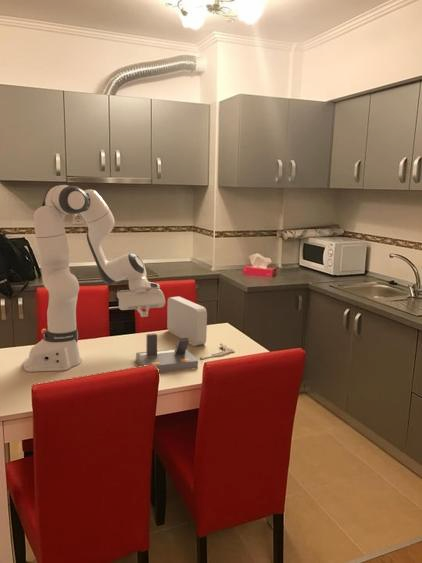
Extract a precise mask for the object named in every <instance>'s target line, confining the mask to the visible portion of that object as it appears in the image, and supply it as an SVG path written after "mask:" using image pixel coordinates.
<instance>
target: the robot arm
mask: <svg viewBox="0 0 422 563" xmlns="http://www.w3.org/2000/svg"><path fill="white" fill-rule="evenodd" d="M77 214H80V215H81V216H82V218H83V220H84V222H85V223H86V226H87V228H88V229H87V230H88V232H86V240H87V241H86V242H87V244H88V246H89V249H90V252H91V254H92V257H93V259H94V261H95V263H96V266H97V269H98V272H99V276H100V278H101V280H102V281H103V283H105V284H108V285H111V286H113V285H115V284H117V283H119V282H120V281H123V280H125V279H127V280H128V288H129V289H125V290H124V289H121V290H119V291H117V292H116V298H117V299H118V309H119V310H121V311H126V310H127V311H128V310H129V311H130V310H136V311H137V312H138V314H140V317H141V318H145V317H149V310H150V309H154V308H155V309H156V308H164V306H165V305H166V299H165V294H164V292H163V291H162V290H161V289H160V288H161V286H160V284H159V283H155V282H151V281H149V280H148V278H147V275H148V274H147V270H146V266H145V263H144V261H143V259H142V257H141V256H138V255H136V254H135V253H132V252H128V253H126V254H123V255H121V256H119V257H117V258H114V259H112V260H108V259H107V257H106V255H105V252H104V251H103V248H102V245H101V243H102V242H103V241H104V239H106V238H107V237H108V236H109V235H110V234H111V232H112V231H113V229H114V227H115V222H116V221H115V217H114V214H113V213H112V211H111V209H110V207H109V206H108V204H107V203H106V201H105V200H104V199H103V197H102V196H101V195H100V194H99V193H98V191H96V190H94V189H85V190H83V189H81V188H80V187H78V186H75V185H68V184H59V185H52V186H51V187H49V188H48V189H47V190H46V191H45V193H44V196H43V200H42V204H41V206H40V207H38V208H37V209H35V211H34V213H33V224H34V225H33V228H34V234H35V238H36V240H35V241H36V244H37V248H38V253H39V258H40V272H41V277H42V283H43V286H44V288H45V289H46V290H47V291H48V292H47V293H48V307H47V310H46V311H47V312H46V317H47V329H46V328H42V329H41V334H42V339H41V340H40V341H39V342H37V343H36V344H35V345H33V346H32V347H31V348H30V351H29V354H28V357H27V358H26V359H24V360H23V362H22V363H23V364H22V367H23V370H24V371H26V372H29V373H31V372H32V373H33V372H57V371H58V372H59V371H68V370H69V369H71V368H73V367H75V366H78V365H80V363H81V362H82V357H81V354H80V351H79V345H78V340H79V332H78V331H79V330H78V327H77V303H78V296H79V295H78V294H79V292H80V284H79V280H78V278H77V276H75V274H73V273H72V272H71V270H70V262H69V261H70V248H69V244H68V239H67V233H66V232H67V231H66V229H65V217H66V215H77ZM143 309H144V310H145V311H143Z"/></svg>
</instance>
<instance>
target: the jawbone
mask: <svg viewBox="0 0 422 563" xmlns="http://www.w3.org/2000/svg"><path fill="white" fill-rule="evenodd" d="M219 346H220V348H222V351H220V352H217V353H212V354H211V355H210V356H204V357H202V356H201V357H199V360H200V359H201V361H204V360H207V359H214V358H222V357H226V356H229V355H231V354H235V352H236V351H235V350H234V349H233V348H229V347H227V346H226V345H224V343H221V342H220V343H219ZM203 359H204V360H203Z"/></svg>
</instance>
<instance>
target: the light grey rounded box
mask: <svg viewBox="0 0 422 563" xmlns="http://www.w3.org/2000/svg"><path fill="white" fill-rule="evenodd" d="M166 310H167V311H166V312H167V316H166V317H167V318H166V320H167V325H166V326H167V331H168V332H169V333H170V334H173V335H175V336H176V337H177V338H188V340H189V342H188V344H190V345H192V346H194V347H196V346H197V347H198V346H203V345H205V344H206V343H207V332H208V331H207V329H208V327H207V326H208V324H207V323H208V322H207V321H208V312H207V309H206V307H205V306H203V305H201V304H198V303H195V302H193V301H191V300H188V299H186V298H184V297H182V296H171V297H170V296H169V297H168V298H167V309H166Z"/></svg>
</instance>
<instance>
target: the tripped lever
mask: <svg viewBox="0 0 422 563" xmlns="http://www.w3.org/2000/svg"><path fill="white" fill-rule="evenodd" d="M145 343H146V346H145V347H146V348H145V349H146V351H145V352H146V358H149V357H158V354H157V351H158V334H157V333H147V334H146V342H145Z"/></svg>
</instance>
